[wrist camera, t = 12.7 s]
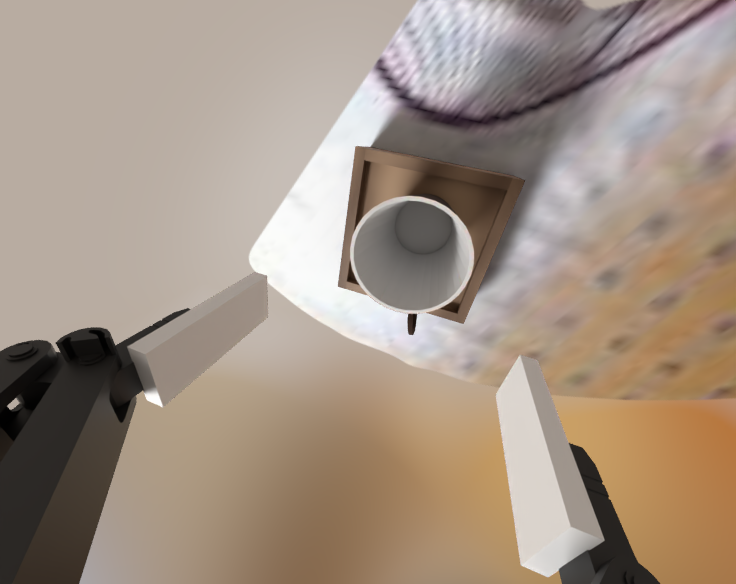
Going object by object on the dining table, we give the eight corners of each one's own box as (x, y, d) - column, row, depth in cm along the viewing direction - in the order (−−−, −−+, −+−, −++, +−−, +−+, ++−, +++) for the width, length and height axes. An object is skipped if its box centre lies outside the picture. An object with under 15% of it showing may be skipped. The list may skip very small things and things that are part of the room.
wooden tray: (514, 175, 27) (525, 180, 22) (462, 302, 34) (463, 323, 30) (370, 147, 29) (355, 146, 25) (351, 270, 37) (337, 286, 32)
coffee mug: (402, 165, 25) (376, 172, 17) (486, 205, 25) (502, 232, 16) (360, 267, 31) (324, 310, 23) (427, 300, 31) (416, 357, 22)
